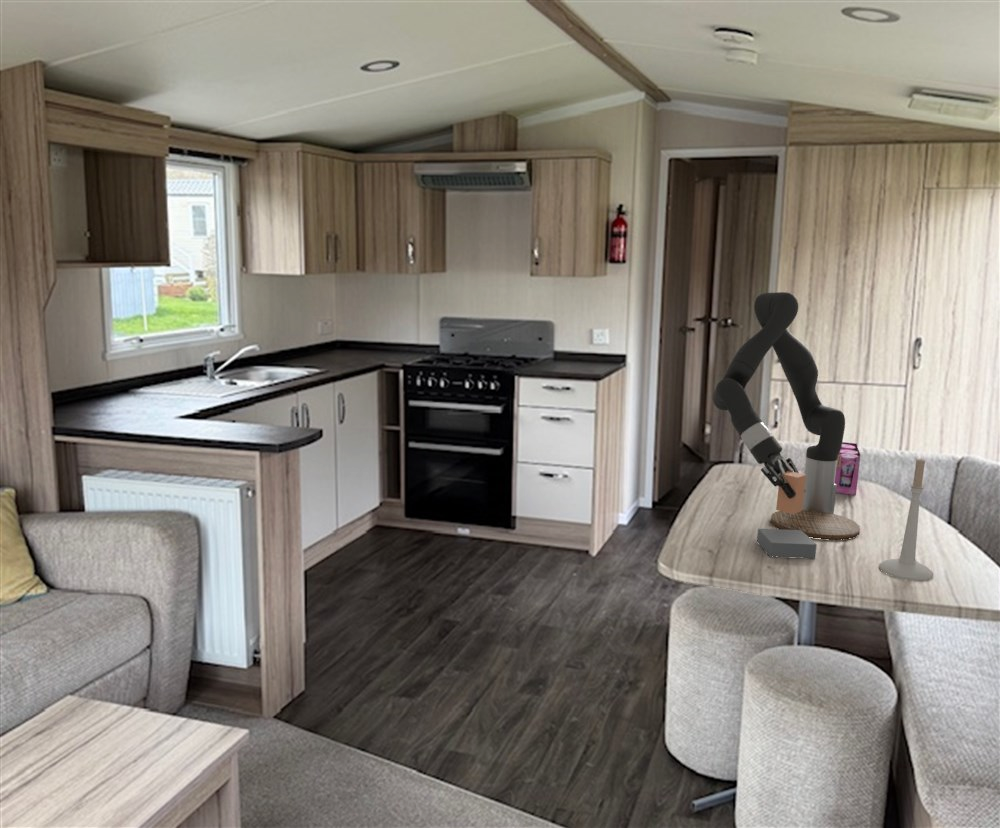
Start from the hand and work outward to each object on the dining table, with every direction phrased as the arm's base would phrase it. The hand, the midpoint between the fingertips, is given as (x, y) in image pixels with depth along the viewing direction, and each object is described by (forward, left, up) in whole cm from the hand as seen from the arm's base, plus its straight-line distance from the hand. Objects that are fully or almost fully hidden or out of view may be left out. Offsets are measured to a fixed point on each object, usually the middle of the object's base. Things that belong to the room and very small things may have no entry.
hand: (797, 495), depth 241 cm
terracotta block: (+1, -1, -5) cm, 5 cm away
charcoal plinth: (+1, -1, -16) cm, 16 cm away
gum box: (-42, -74, -16) cm, 87 cm away
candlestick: (-26, +12, -16) cm, 33 cm away
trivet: (-15, -24, -17) cm, 33 cm away
